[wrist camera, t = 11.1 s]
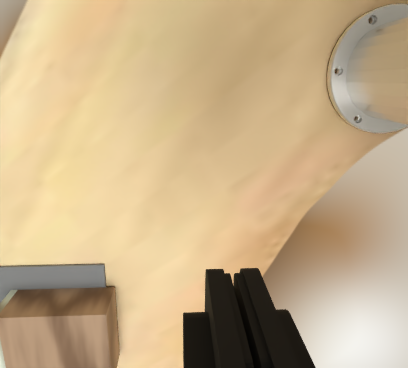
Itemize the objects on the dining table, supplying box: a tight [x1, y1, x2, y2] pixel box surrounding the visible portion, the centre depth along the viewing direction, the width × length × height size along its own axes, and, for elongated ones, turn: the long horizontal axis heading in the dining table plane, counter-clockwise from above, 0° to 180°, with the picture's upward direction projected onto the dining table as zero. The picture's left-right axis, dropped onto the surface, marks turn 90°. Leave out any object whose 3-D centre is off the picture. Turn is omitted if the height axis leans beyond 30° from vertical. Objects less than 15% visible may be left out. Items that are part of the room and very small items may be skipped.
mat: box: [0, 264, 106, 303], centre depth 41 cm, size 15×16×2 cm
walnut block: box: [0, 287, 120, 368], centre depth 39 cm, size 5×10×12 cm
